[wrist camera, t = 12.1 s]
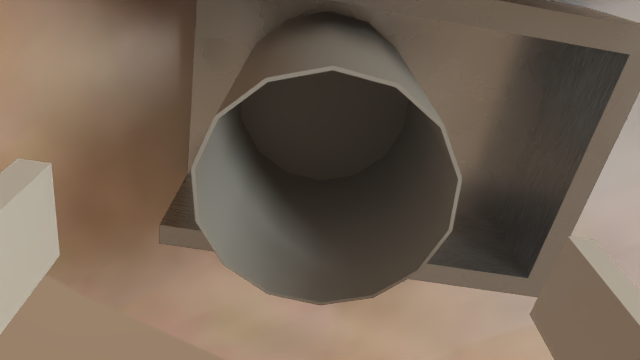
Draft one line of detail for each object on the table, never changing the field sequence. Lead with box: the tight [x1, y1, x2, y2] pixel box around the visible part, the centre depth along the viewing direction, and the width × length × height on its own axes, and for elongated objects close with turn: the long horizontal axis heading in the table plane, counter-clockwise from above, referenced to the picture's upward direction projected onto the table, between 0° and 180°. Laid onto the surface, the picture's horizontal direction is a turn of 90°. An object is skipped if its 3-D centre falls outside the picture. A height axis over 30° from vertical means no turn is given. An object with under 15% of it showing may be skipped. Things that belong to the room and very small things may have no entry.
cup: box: [191, 11, 462, 305], centre depth 20 cm, size 8×8×10 cm
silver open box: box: [159, 0, 640, 297], centre depth 23 cm, size 18×12×6 cm
